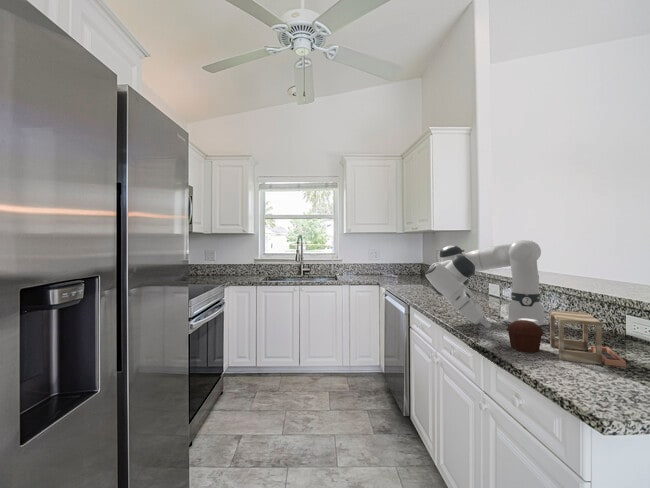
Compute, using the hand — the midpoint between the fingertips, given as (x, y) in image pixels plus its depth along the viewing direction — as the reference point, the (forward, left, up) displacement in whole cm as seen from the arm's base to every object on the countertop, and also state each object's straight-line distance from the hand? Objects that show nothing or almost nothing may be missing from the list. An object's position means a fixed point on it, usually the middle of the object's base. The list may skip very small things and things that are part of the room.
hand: (489, 326), depth 128 cm
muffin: (0, +11, -7) cm, 13 cm away
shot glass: (-19, +14, -7) cm, 25 cm away
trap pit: (0, +35, -7) cm, 35 cm away
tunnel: (0, +26, -7) cm, 27 cm away
